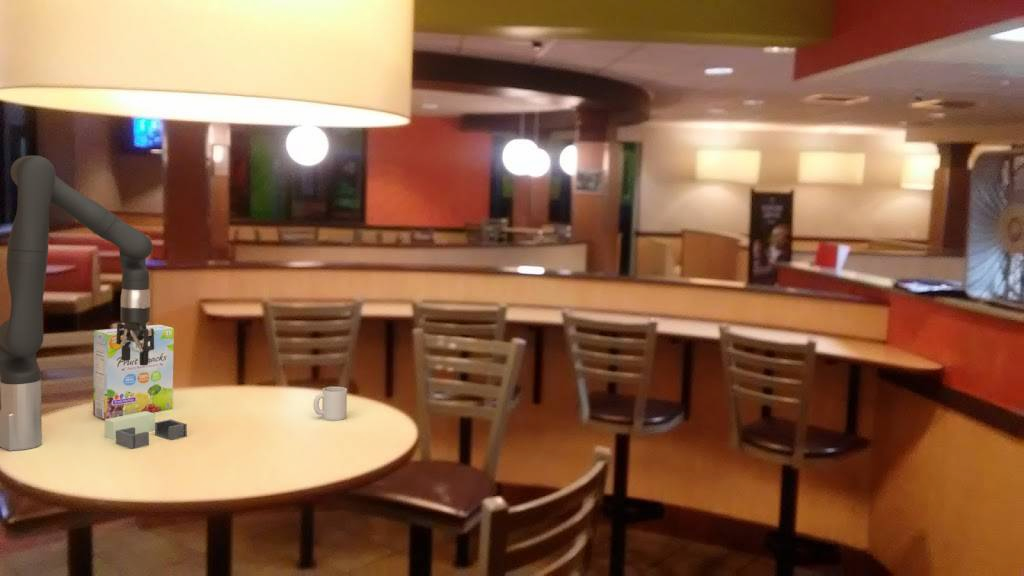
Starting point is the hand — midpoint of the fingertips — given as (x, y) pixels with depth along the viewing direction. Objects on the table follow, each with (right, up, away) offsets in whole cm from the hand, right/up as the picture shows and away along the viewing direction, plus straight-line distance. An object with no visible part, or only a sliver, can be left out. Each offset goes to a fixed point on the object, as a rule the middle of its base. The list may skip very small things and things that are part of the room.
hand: (134, 362), depth 254 cm
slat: (-1, -20, -1) cm, 20 cm away
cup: (+50, -19, +23) cm, 58 cm away
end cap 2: (+11, -20, -2) cm, 23 cm away
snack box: (-9, -17, +21) cm, 28 cm away
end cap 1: (+4, -21, -11) cm, 24 cm away
